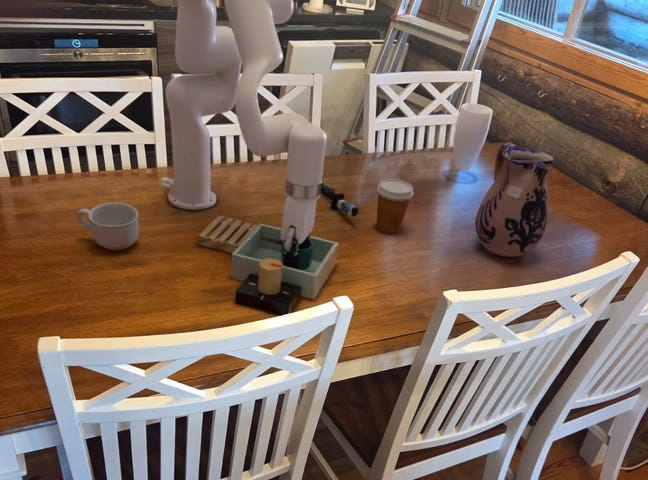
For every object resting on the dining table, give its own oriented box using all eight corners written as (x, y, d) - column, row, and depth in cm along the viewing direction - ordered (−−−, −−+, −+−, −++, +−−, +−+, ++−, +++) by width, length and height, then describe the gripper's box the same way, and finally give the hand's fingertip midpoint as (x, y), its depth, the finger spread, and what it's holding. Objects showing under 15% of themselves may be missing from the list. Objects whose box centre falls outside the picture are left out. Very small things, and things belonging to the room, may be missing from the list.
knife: (358, 224, 166) (360, 207, 163) (347, 224, 165) (349, 208, 162) (318, 187, 189) (319, 172, 187) (308, 187, 188) (310, 172, 186)
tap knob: (254, 291, 132) (255, 265, 128) (262, 280, 136) (264, 254, 132) (275, 297, 131) (277, 271, 127) (283, 286, 135) (285, 260, 131)
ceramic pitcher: (497, 270, 157) (528, 174, 141) (447, 231, 171) (471, 140, 155) (549, 260, 164) (584, 167, 148) (497, 223, 178) (524, 135, 162)
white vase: (478, 184, 199) (497, 115, 186) (446, 181, 199) (462, 111, 185) (472, 171, 207) (490, 104, 194) (441, 168, 207) (457, 100, 193)
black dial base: (234, 304, 133) (234, 291, 131) (250, 283, 140) (251, 271, 138) (287, 318, 131) (288, 306, 129) (301, 297, 138) (302, 285, 136)
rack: (196, 246, 150) (195, 234, 148) (217, 225, 159) (217, 214, 158) (242, 258, 148) (243, 246, 146) (261, 236, 157) (262, 225, 155)
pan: (314, 259, 145) (317, 239, 142) (305, 272, 140) (307, 253, 137) (265, 246, 147) (266, 227, 144) (254, 259, 142) (254, 239, 139)
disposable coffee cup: (410, 226, 171) (419, 184, 163) (398, 240, 164) (407, 197, 156) (377, 216, 173) (385, 175, 166) (365, 229, 166) (372, 187, 159)
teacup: (149, 240, 150) (147, 209, 145) (123, 260, 142) (120, 228, 137) (98, 226, 153) (94, 195, 148) (70, 245, 145) (65, 213, 140)
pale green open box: (231, 278, 141) (231, 254, 137) (259, 246, 154) (260, 223, 150) (313, 300, 137) (316, 276, 134) (335, 265, 150) (338, 242, 146)
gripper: (299, 169, 139) (293, 241, 150) (271, 199, 126) (266, 275, 137) (331, 176, 138) (323, 248, 149) (306, 207, 125) (299, 283, 136)
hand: (296, 261), depth 143 cm, fingers closed on pan, 6 cm apart
